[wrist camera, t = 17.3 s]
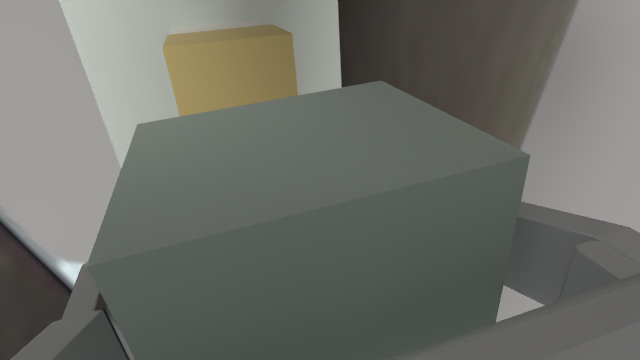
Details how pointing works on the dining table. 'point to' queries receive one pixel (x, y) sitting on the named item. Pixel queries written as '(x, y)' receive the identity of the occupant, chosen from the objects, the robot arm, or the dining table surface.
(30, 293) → the dining table surface
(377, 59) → the dining table surface
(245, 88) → the ochre brick
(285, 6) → the build board
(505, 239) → the sage brick
